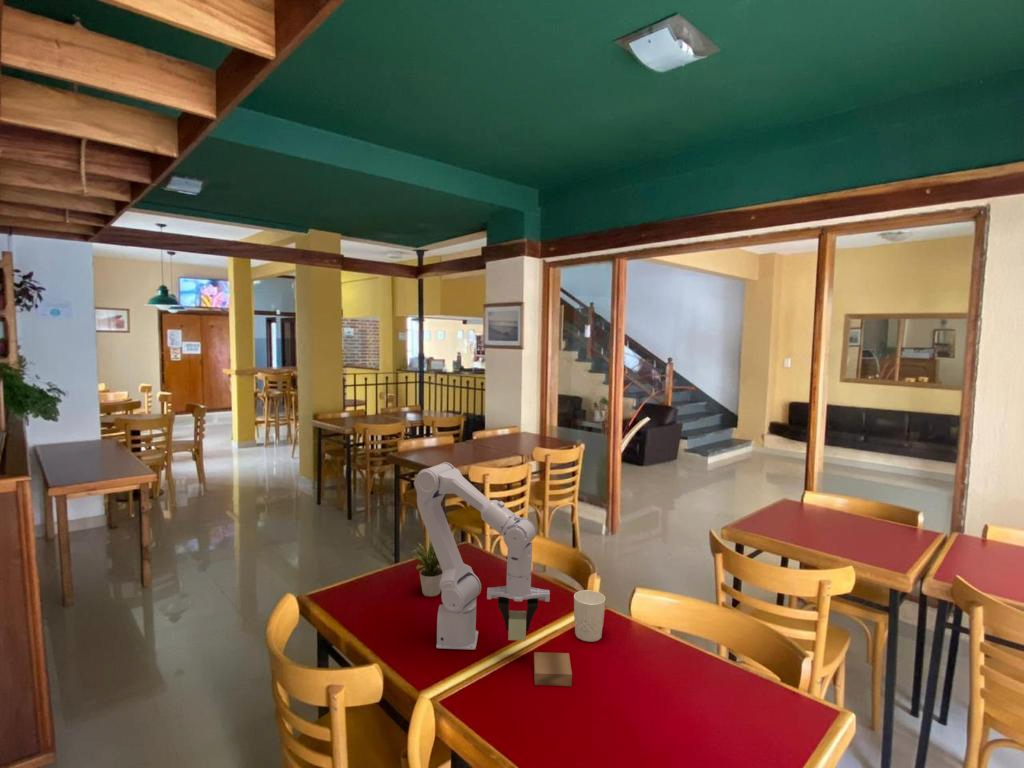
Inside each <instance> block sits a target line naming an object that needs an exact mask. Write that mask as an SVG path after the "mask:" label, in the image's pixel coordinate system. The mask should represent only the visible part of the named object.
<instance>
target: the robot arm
mask: <svg viewBox="0 0 1024 768" xmlns="http://www.w3.org/2000/svg"><path fill="white" fill-rule="evenodd" d="M413 485H414V489H415V491H416V505H417V508H418V512H419V513H420V516H421V519H422V522H423V524H424V527H425V529H426V532H427V534H428V535H427V536H428V538H429V541H430V540H431V543H432V545H433V548H434V551H435V553H436V556H437V559H438V561H439V564H440V566H441V569H442V572H443V574H442V577H441V580H440V584H439V585H440V588H441V591H440V593H441V597H440V598H441V602H442V604H439V606H438V609H437V610H438V611H437V619H436V645H435V646H436V649H447V650H470V651H471V650H472V651H473V650H476V649H477V648H476V647H477V643H478V637H479V630H477V628H476V626H477V625H476V623H477V597H478V596H479V595H480V594H481V591H482V583H481V581H480V579H479V577H478V576H477V575H476V574H475V573H474V571H473V569H472V566H470V565H468V564H466V563H464V561H463V558H462V556H461V553H460V551H459V548H458V546H457V542H456V540H455V538H454V535H453V532H452V530H451V527H450V524H449V523H448V520H447V517H446V514H445V512H444V510H443V506H442V502H443V499H444V497H445V496H446V495H448V494H449V495H450V494H452V495H454V494H455V495H456V496H457V497H459V498H460V499H461V500H463V501H464V502H466V503H467V504H469V505H470V506H471V507H473V508H475V509H476V510H477V511H479V512H480V517H481V520H482V521H484V522H485V523H486V524H487V525H489V527H491V528H492V529H493V530H495V531H496V532H497V533H498V534H499V535H501V536H502V537H503V542H504V544H505V546H506V547H507V554H506V555H507V556H506V557H507V558H506V559H507V561H506V583H505V584H506V585H504V586H495V587H493V586H492V587H487V591H486V594H487V595H486V600H492V599H497V600H498V601H497V606H498V608H499V610H500V612H501V615H502V618H503V620H504V626H505V631H509V611H510V600H513V601H514V602H523V600H527V601H526V602H527V604H526V632H529V631H530V625H531V623H532V622H531V621H532V619H533V617H534V616H535V613H536V611H537V610H538V607H539V601H544V602H550V599H551V597H550V594H551V593H550V590H549V589H542V588H537V587H533V586H532V562H533V561H532V559H533V558H532V557H533V543H532V541H534V539H535V538H536V536H537V528H536V526H535V525H536V524H535V523H534V522H532V521H531V519H530V518H528V517H521V516H520V515H519V514H516V513H514V512H513V511H512V510H510V509H509V508H508V507H507V506H505V505H506V504H505V502H504V501H502V500H497V499H493V500H492V499H491V500H490V499H488V497H486V495H484V494H483V493H482V492H480V490H479V489H478V488H476V487H475V486H474V485H473V484H472V483H471V482H469V481H468V479H466V478H465V477H464V476H463V475H462V473H461V471H460V469H458V468H456V467H455V466H454V465H453V464H451V463H450V462H448V461H447V462H446V461H445V462H440V463H439V464H436V465H434V466H431V467H427V468H423V469H421V470H420V471H419V472H418V473H417V475H416V477H415V479H414V481H413Z"/></svg>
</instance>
